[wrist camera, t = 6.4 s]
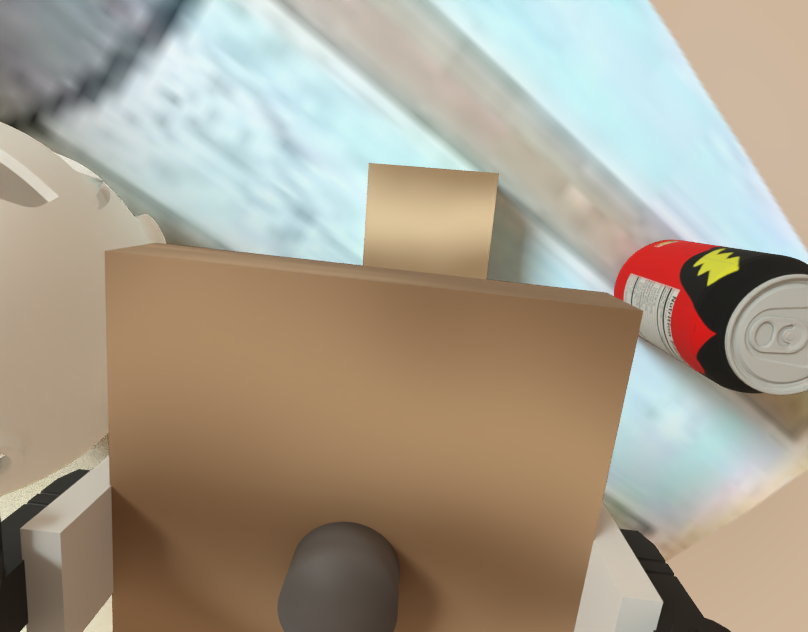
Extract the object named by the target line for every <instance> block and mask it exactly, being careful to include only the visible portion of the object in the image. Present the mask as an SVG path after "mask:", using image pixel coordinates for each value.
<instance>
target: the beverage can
mask: <svg viewBox="0 0 808 632" xmlns="http://www.w3.org/2000/svg"><path fill="white" fill-rule="evenodd" d="M614 297H616V298H618V299H620V300H622V301H624V302H626V303H628V304H630V305H633V306H635V307H637V308H639V309H641V310H643V315H642V320H641V325H640V329H639V334H638V336H640V337H642V338H643V339H645V340H647V341H648V342H650V343H652V344H653V345H655V346H657V347H658V348H660V349H661V350H663V351H665V352H666V353H668V354H670V355H671V356H673V357H675V358H676V359H678V360H679V361H681V362H683V363H684V364H686V365H688V366H689V367H691V368H693V369H694V370H696V371H698V372H699V373H701V374H702V375H704V376H706V377H707V378H709V379H711V380H712V381H714V382H716V383H717V384H719V385H721V386H723V387H725V388H728V389H731V390H735V391H739V392H745V393H767V394H773V395H790V394H796V393H800V392H804V391H807V390H808V264H806V263H804V262H802V261H800V260H798V259H795V258H792V257H788V256H783V255H776V254H769V253H762V252H756V251H749V250H742V249H735V248H729V247H722V246H715V245H708V244H702V243H695V242H688V241H682V240H663V241H658V242H655V243H652V244H650V245H647V246H645V247H644V248H642V249H640V250H639V251H637V252H636V253H635V254H633V255H632V256H631V257H630V258H629V259H628V260H627V262H626V263H625V264H624V266H623V267H622V269H621V270H620V272H619V275H618V277H617V280H616V283H615V289H614Z"/></svg>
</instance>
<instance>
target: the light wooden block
mask: <svg viewBox="0 0 808 632" xmlns="http://www.w3.org/2000/svg"><path fill="white" fill-rule="evenodd" d="M498 176H499V173H487V172H475V171H462V170H450V169H437V168H425V167H412V166H399V165H387V164H374V163H369V172H368V189H367V205H366V221H365V238H364V254H363V266H371V267H380V268H389V269H398V270H407V271H416V272H425V273H434V274H443V275H452V276H461V277H470V278H479V279H487V271H488V263H489V254H490V245H491V237H492V228H493V219H494V211H495V202H496V193H497V184H498Z"/></svg>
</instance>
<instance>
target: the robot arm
mask: <svg viewBox="0 0 808 632" xmlns="http://www.w3.org/2000/svg"><path fill="white" fill-rule="evenodd" d="M113 592H114V591H113V545H112V499H111V486H110V476H109V456H108V457H106V458H105V459H104V460H103V461H102V462H100V463H99V464H98V465H97V466H96V467H94V468H93V469H92V470H91V471H90V470H81V469H79V470H76V471H74V472H72V473H70V474H67V475H65V476H63V477H61V478H58V479H57V480H55V481H54V482H53V483H51V484H50V485H49V486H47V487H46V488H45V489H44V490H42V491H41V494H37V495H36V496H34V497H33V498H32V499H31V500H29V501H28V503H27V504H24V505H23V506H21V507H20V508H19V509H18V510H16V511H15V512H14V513H12V514H11V515H10V516H8V517H7V518H6V519H5V520H3V521H2V522H1V519H0V632H20V631H21V630H22V629H23V628H24V627H25V626H27V632H83V631H84V629H85V628H86V627H87V625H88V624H89V623H90V622H91V620H92V619H93V618H94V616H95V615H96V614H97V613H98V611H99V610H100V609H101V607H102V606H103V605H104V604H105V602H106V601H107V600H108V598H109V597H110V596H111V595H112V593H113ZM574 632H731V631H729V630H728V629H727V628H725V627H723V626H721V625H720V624H718V623H716V622H714V621H712V620H709V619H706V618H704V617H703V615H702V614H701V612H700V611H699V609H698V608H697V606H696V605H695V604H694V602H693V601H692V599H691V598H690V596H689V595H688V593H687V592H686V591H685V589H684V587H683V586H682V584H681V583H680V582H679V580H678V579H677V577H675V576H674V573H673V571H672V570H671V568H670V567H669V565H668V564H666V563H665V560H664V558H663V557H662V555H661V554H660V552H659V551H658V549H657V548H656V546H655V545H654V544H653V543H651V542H650V541H649V540H648V539H647V538H645V537H644V536H643V535H642V534H641V533H639V532H638V531H633V530H624V529H619V528H618V526H617V525H616V523H615V521H614V520H613V518H612V517H611V515H610V513H609V512H608V510H607V508H606V507H605V505H604V503H603V502H602V505H601V509H600V514H599V518H598V523H597V528H596V532H595V537H594V541H593V546H592V550H591V555H590V559H589V564H588V569H587V573H586V578H585V583H584V587H583V592H582V596H581V601H580V606H579V610H578V615H577V620H576V624H575V629H574Z"/></svg>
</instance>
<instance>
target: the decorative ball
mask: <svg viewBox="0 0 808 632" xmlns="http://www.w3.org/2000/svg"><path fill="white" fill-rule="evenodd" d="M151 243H164V244H166V240H165V238H164V235H163V233H162V231H161V229H160V228H159V226H158V224H157V223H156V222H155V220H154V219H153V218H152V217H151V216H149V215H147V214H143V215H140V216H133V214H132V213H131V212H130V210H129V209H128V208H127V206H126V205H125V204H124V202H123V201H122V200H121V199H120V198H119V197H118V196H117V195H116V193H115V192H114V191H113V190H112V189H111V188H110V187H109V186H108V185H107V184H106V183H105V182H104V181H103V180H101V179H100V178H99V177H98V176H97V175H96V174H94V173H93V172H92V171H90V170H89V169H87V168H86V167H84V166H82V165H81V164H79V163H77V162H75V161H73V160H71V159H69V158H67V157H64V156H62V155H60V154H57V153H55V152H53V151H51V150H50V149H49V148H47V147H46V146H45V145H43V144H42V143H40V142H38V141H37V140H35V139H34V138H32V137H30V136H29V135H27V134H25V133H23V132H21V131H19V130H17V129H15V128H13V127H11V126H9V125H7V124H4V123H2V122H0V454H3V455H5V456H4V457H2V458H0V496H2V495H5V494H8V493H10V492H13V491H16V490H18V489H21V488H23V487H26V486H28V485H30V484H33V483H35V482H37V481H39V480H41V479H43V478H45V477H47V476H49V475H51V474H53V473H54V472H56V471H58V470H60V469H61V468H63V467H65V466H66V465H68V464H70V463H71V462H73V461H74V460H76V459H77V458H78V457H80V456H81V455H83V454H84V453H85V452H87V451H88V450H89V449H91V448H92V447H93V446H94V445H95V444H97V443H98V442H99V441H100V440H101V439H103V438H104V437H105V436H106V435H107V434H108V433H109V431H108V386H107V341H106V296H105V251H107V250H113V249H120V248H126V247H132V246H138V245H145V244H151Z"/></svg>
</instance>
